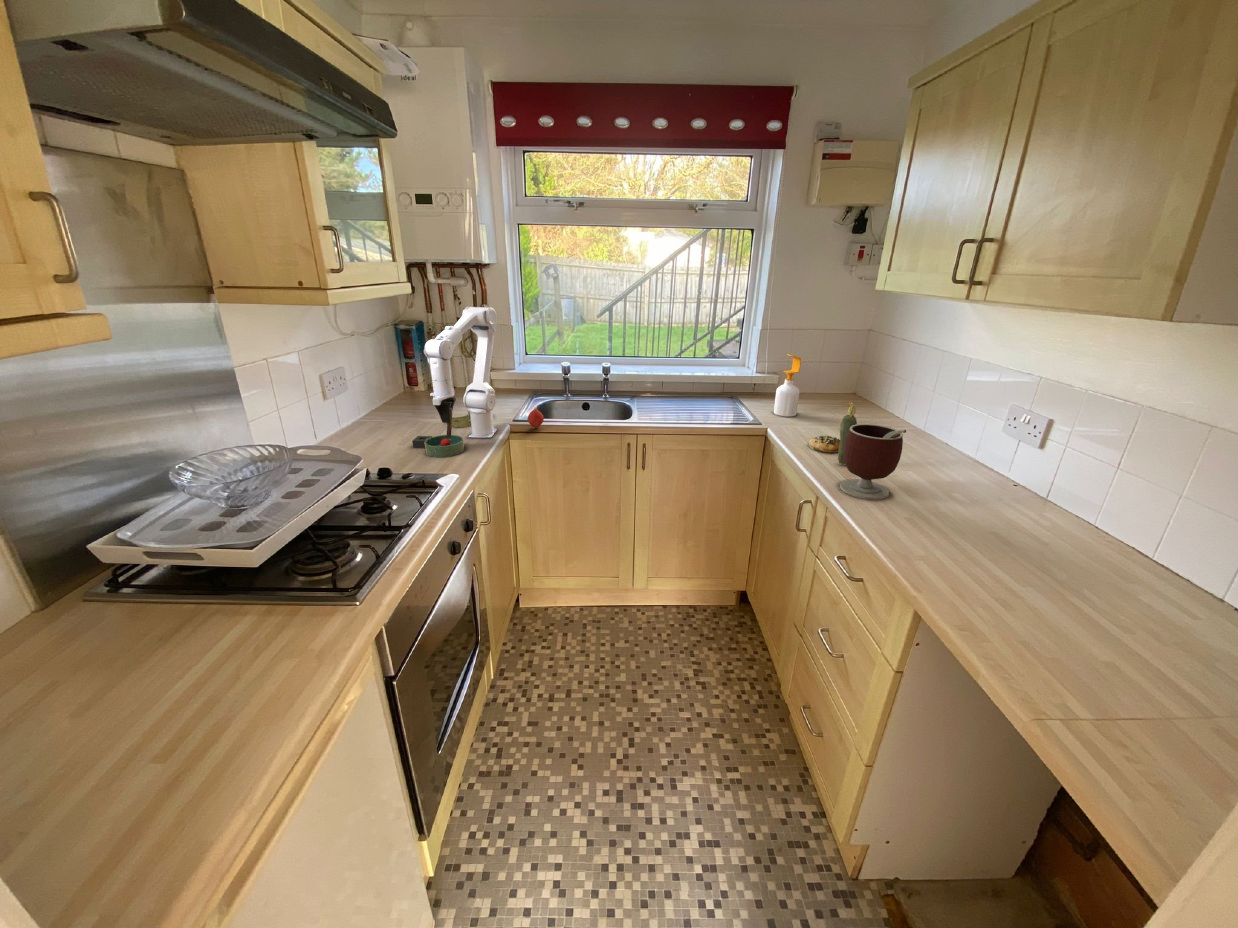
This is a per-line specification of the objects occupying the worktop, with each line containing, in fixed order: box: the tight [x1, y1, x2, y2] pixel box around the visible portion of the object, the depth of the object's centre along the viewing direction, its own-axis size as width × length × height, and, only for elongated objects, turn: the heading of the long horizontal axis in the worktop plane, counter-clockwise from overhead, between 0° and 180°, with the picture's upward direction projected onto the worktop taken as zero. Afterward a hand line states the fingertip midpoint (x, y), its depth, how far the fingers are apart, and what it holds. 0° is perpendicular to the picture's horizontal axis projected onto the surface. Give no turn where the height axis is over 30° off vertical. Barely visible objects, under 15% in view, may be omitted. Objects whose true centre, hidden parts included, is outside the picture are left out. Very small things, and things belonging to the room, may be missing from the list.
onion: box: [527, 407, 545, 429], centre depth 188 cm, size 6×6×8 cm
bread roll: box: [808, 435, 840, 454], centre depth 172 cm, size 11×11×5 cm
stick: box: [446, 408, 454, 438], centre depth 162 cm, size 1×1×10 cm
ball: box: [441, 439, 450, 446], centre depth 167 cm, size 3×3×3 cm
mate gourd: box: [839, 423, 907, 501], centre depth 136 cm, size 16×14×20 cm
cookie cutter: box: [452, 410, 471, 428], centre depth 198 cm, size 18×12×2 cm, turn 155°
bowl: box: [424, 434, 465, 458], centre depth 166 cm, size 12×12×4 cm
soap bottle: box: [773, 353, 802, 418], centre depth 207 cm, size 9×9×25 cm
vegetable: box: [837, 401, 858, 466], centre depth 154 cm, size 4×4×20 cm
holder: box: [411, 435, 433, 449], centre depth 171 cm, size 5×5×2 cm
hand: (446, 421), depth 162 cm, fingers closed on stick, 1 cm apart
